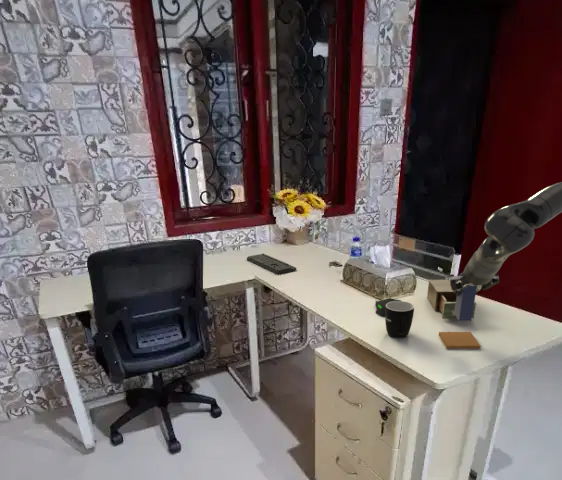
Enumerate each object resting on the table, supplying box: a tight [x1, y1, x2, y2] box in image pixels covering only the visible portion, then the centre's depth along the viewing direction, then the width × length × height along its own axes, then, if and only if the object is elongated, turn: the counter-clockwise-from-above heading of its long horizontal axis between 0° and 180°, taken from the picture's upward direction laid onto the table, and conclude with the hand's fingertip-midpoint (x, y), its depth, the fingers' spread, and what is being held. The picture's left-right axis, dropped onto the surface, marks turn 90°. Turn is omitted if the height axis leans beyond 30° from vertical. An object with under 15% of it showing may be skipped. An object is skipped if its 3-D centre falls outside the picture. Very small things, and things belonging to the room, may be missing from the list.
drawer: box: [438, 294, 477, 320], centre depth 147 cm, size 17×10×6 cm, turn 174°
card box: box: [454, 280, 477, 322], centre depth 125 cm, size 4×6×11 cm, turn 174°
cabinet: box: [426, 279, 459, 312], centre depth 158 cm, size 14×12×8 cm
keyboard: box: [246, 253, 297, 275], centre depth 220 cm, size 35×11×2 cm, turn 30°
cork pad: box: [438, 331, 481, 350], centre depth 131 cm, size 10×10×1 cm
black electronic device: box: [374, 297, 402, 318], centre depth 156 cm, size 11×16×4 cm
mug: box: [384, 300, 415, 339], centre depth 135 cm, size 12×9×10 cm
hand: (463, 292), depth 126 cm, fingers closed on card box, 3 cm apart
